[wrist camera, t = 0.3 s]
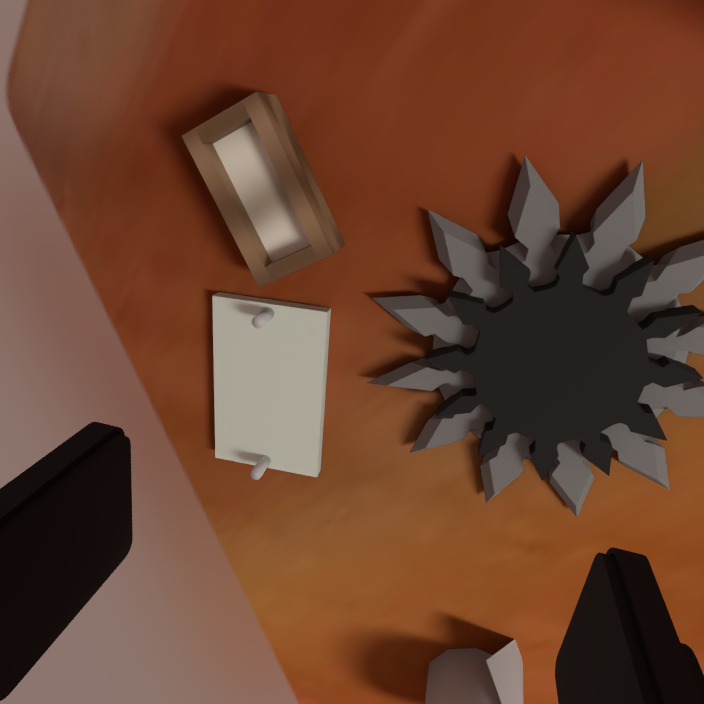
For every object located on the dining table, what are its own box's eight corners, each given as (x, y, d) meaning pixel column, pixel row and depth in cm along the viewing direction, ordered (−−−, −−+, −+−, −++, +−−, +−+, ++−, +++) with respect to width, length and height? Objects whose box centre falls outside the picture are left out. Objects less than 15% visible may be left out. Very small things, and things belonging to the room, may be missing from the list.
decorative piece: (801, 90, 32) (800, 525, 41) (770, 94, 36) (775, 494, 45) (310, 209, 41) (400, 548, 50) (324, 203, 44) (405, 521, 53)
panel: (218, 292, 49) (198, 304, 45) (330, 307, 47) (319, 321, 44) (220, 451, 55) (203, 472, 51) (320, 470, 53) (309, 493, 50)
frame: (206, 135, 44) (181, 135, 40) (276, 94, 42) (256, 91, 38) (276, 275, 47) (258, 287, 43) (345, 244, 45) (332, 254, 41)
